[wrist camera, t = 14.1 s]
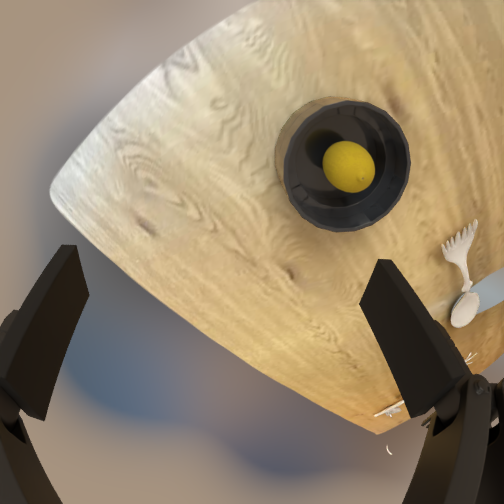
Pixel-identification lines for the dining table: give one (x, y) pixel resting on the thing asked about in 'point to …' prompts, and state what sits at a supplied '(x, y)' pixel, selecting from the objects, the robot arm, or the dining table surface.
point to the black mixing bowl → (312, 152)
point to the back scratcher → (457, 255)
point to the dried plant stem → (395, 407)
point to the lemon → (348, 166)
